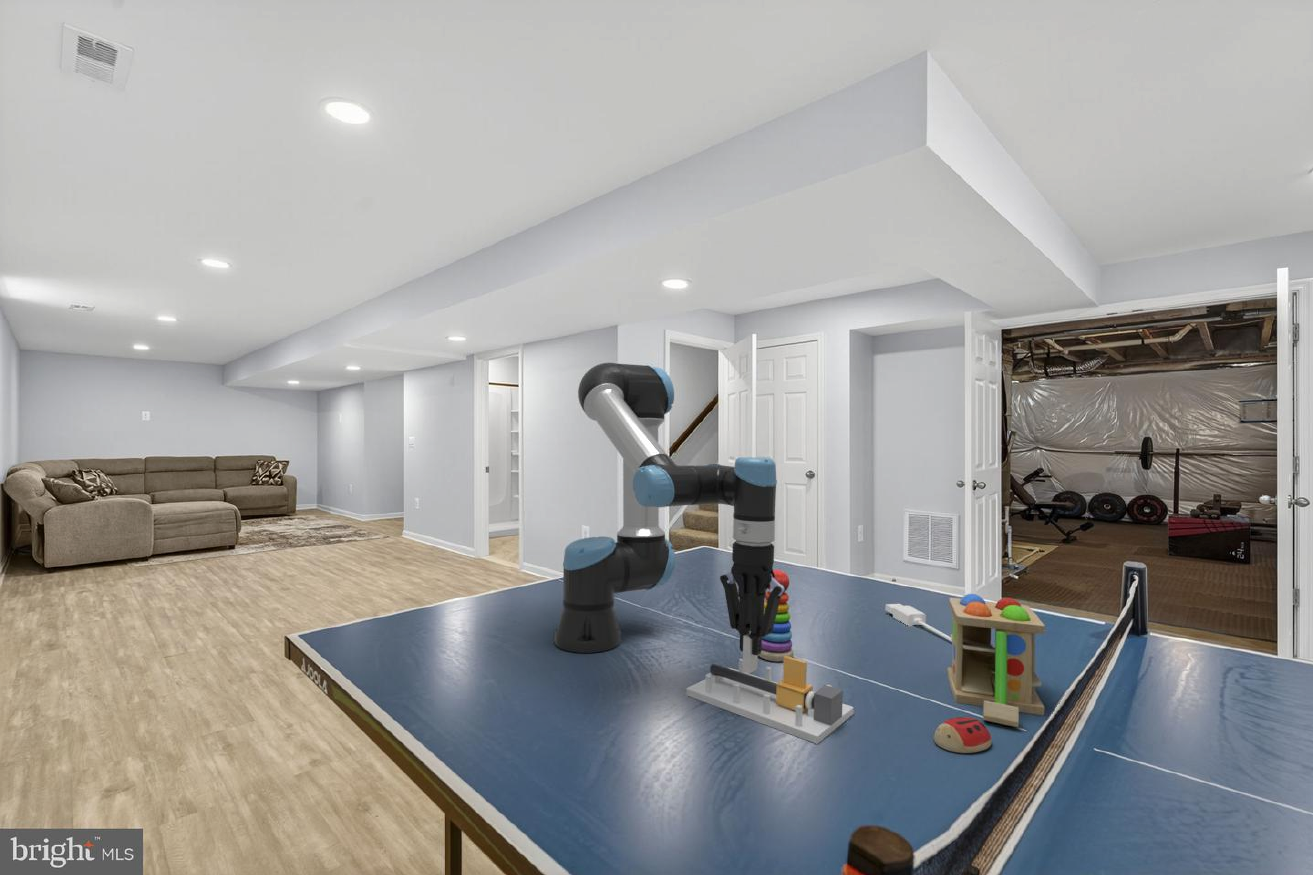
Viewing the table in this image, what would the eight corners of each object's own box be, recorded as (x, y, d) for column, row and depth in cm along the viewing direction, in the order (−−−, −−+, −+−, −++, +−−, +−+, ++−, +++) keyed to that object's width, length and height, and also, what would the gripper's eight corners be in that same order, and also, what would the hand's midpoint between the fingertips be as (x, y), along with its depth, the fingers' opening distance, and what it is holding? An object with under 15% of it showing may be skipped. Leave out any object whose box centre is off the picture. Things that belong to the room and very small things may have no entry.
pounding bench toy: (1058, 739, 98) (1060, 628, 98) (960, 722, 103) (962, 617, 103) (1026, 685, 119) (1028, 594, 119) (947, 673, 124) (949, 587, 124)
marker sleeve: (776, 703, 105) (777, 658, 105) (786, 697, 108) (787, 652, 108) (802, 712, 102) (803, 665, 102) (812, 705, 105) (813, 660, 105)
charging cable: (966, 661, 134) (967, 646, 134) (883, 613, 166) (884, 601, 166) (986, 660, 135) (987, 645, 135) (900, 612, 167) (901, 600, 167)
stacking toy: (793, 664, 127) (795, 575, 127) (755, 661, 129) (757, 573, 129) (793, 651, 135) (794, 568, 135) (756, 648, 137) (758, 565, 137)
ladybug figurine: (922, 740, 97) (923, 717, 97) (966, 729, 101) (967, 708, 101) (958, 761, 91) (959, 737, 91) (1004, 748, 95) (1004, 726, 95)
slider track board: (685, 694, 111) (686, 664, 111) (728, 673, 122) (729, 645, 122) (817, 744, 94) (818, 708, 94) (853, 713, 105) (854, 681, 105)
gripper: (712, 539, 112) (708, 666, 112) (774, 550, 104) (770, 687, 104) (734, 534, 118) (731, 655, 118) (795, 544, 109) (791, 674, 110)
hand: (749, 670), depth 111 cm, fingers closed
